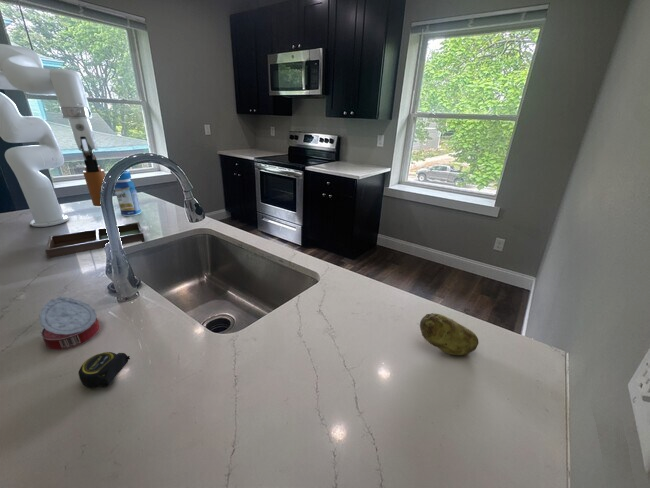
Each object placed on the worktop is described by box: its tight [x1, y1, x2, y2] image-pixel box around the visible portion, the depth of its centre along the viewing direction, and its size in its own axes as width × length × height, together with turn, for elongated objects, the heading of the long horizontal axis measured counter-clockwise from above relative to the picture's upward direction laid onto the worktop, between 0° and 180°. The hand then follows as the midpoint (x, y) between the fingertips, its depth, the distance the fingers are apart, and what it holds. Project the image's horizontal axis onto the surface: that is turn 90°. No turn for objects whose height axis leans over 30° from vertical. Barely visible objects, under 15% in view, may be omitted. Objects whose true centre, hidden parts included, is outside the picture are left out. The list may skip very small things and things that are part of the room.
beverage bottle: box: [114, 170, 142, 217], centre depth 138 cm, size 8×8×20 cm
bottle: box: [82, 153, 106, 207], centre depth 105 cm, size 6×6×18 cm
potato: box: [419, 312, 479, 356], centre depth 68 cm, size 8×13×8 cm, turn 63°
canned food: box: [38, 296, 101, 351], centre depth 68 cm, size 11×10×10 cm
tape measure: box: [77, 351, 131, 389], centre depth 58 cm, size 7×7×4 cm
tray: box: [45, 221, 146, 259], centre depth 112 cm, size 14×28×4 cm, turn 126°
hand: (93, 169), depth 103 cm, fingers closed on bottle, 4 cm apart
